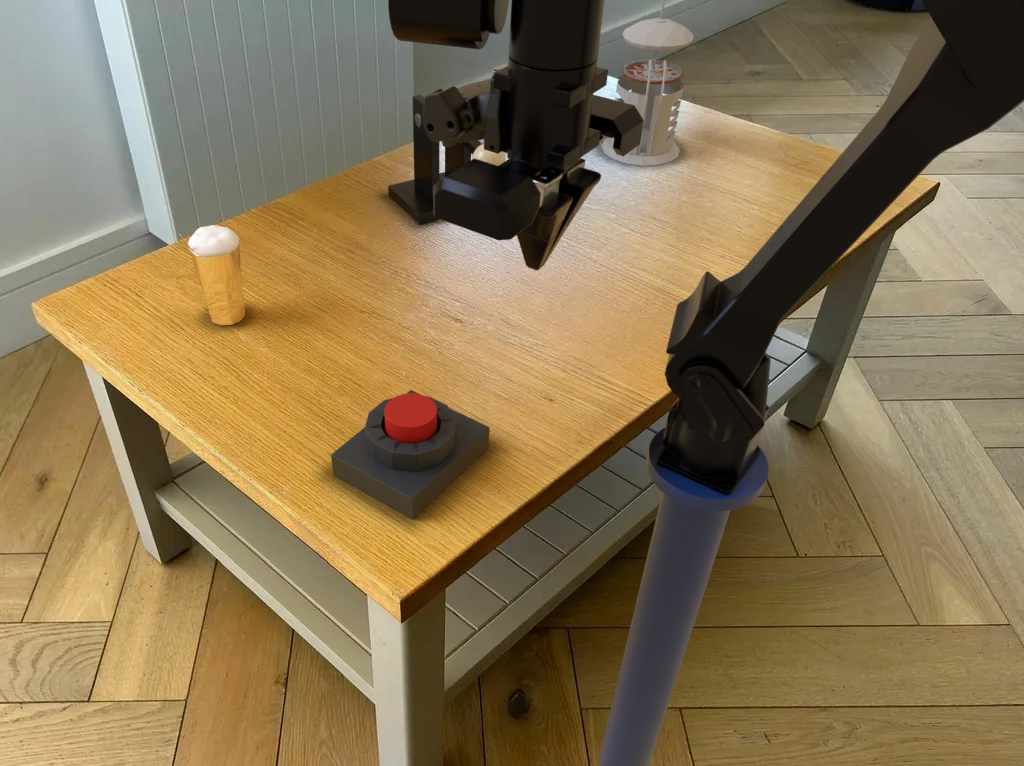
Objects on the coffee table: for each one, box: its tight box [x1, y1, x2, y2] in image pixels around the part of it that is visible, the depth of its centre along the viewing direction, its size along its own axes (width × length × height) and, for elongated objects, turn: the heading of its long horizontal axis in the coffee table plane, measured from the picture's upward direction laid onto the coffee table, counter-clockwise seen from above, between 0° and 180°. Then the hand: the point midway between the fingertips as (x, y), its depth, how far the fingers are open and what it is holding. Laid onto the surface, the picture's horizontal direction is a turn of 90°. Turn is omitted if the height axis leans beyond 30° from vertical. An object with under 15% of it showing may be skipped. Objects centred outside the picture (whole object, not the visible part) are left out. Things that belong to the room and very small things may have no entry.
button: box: [384, 393, 437, 444], centre depth 69 cm, size 4×4×2 cm
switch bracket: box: [387, 88, 472, 226], centre depth 100 cm, size 8×10×12 cm
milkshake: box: [177, 224, 246, 326], centre depth 83 cm, size 4×5×10 cm
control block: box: [330, 389, 491, 520], centre depth 70 cm, size 8×10×4 cm
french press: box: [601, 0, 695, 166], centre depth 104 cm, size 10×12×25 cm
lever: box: [461, 140, 506, 166], centre depth 94 cm, size 13×3×3 cm, turn 28°
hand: (534, 266), depth 68 cm, fingers closed
